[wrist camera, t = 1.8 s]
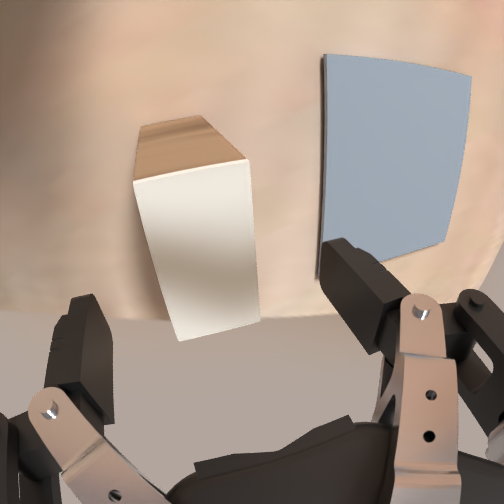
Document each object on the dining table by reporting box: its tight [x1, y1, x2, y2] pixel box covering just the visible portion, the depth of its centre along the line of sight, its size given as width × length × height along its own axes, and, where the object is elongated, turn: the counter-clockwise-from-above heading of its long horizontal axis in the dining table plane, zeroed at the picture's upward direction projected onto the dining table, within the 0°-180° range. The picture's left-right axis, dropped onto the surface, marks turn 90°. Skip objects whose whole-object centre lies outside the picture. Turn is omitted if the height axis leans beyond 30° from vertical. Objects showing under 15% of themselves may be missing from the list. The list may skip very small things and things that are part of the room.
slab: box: [133, 116, 260, 342], centre depth 15 cm, size 7×4×10 cm, turn 4°
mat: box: [318, 54, 472, 277], centre depth 24 cm, size 18×16×1 cm
